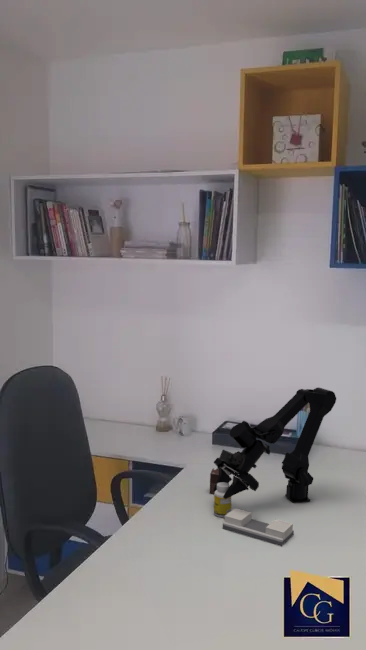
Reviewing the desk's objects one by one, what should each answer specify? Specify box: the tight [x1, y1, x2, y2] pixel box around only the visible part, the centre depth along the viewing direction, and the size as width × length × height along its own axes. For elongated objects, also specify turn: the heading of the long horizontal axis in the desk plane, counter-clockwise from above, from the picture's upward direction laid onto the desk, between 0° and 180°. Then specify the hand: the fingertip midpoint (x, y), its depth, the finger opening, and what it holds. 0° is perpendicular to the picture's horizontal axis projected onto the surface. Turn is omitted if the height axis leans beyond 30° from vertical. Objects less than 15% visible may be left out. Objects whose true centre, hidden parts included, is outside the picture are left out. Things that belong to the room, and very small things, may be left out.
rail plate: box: [222, 507, 295, 547], centre depth 181 cm, size 19×9×4 cm, turn 58°
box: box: [209, 467, 230, 495], centre depth 211 cm, size 6×6×7 cm
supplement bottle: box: [213, 482, 232, 518], centre depth 192 cm, size 5×5×10 cm
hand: (219, 494), depth 191 cm, fingers closed on supplement bottle, 5 cm apart
